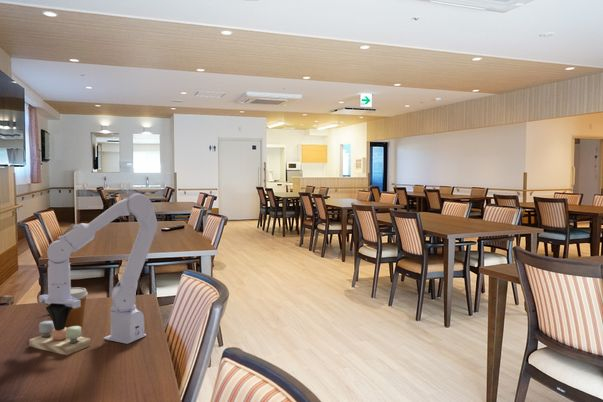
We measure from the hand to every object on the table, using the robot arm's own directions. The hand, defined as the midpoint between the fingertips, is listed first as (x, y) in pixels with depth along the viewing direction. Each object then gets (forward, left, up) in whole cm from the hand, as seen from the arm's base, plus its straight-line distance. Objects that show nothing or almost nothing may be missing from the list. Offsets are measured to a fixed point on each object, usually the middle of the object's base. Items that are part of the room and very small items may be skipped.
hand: (59, 329), depth 130 cm
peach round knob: (0, 0, -4) cm, 4 cm away
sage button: (-6, 0, -3) cm, 6 cm away
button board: (0, 0, -5) cm, 5 cm away
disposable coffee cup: (+11, -13, -5) cm, 18 cm away
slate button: (+6, 0, -3) cm, 6 cm away
